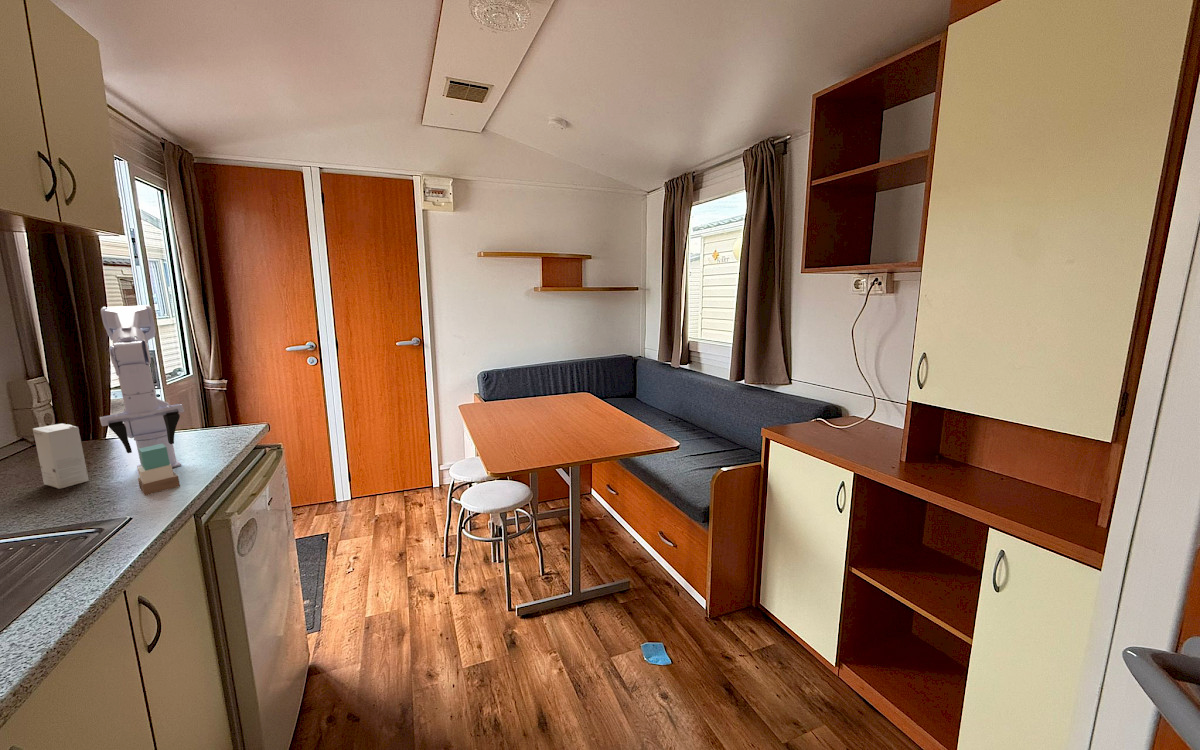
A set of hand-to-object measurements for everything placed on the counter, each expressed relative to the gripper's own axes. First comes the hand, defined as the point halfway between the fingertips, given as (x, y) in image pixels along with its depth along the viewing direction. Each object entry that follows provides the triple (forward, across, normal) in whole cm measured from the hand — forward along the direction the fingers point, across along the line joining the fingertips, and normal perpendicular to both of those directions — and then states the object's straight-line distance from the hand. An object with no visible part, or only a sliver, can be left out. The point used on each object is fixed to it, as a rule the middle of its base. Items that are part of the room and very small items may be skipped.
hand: (150, 447), depth 119 cm
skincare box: (+10, -14, +25) cm, 31 cm away
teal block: (+5, 0, 0) cm, 5 cm away
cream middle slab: (+8, 0, 0) cm, 8 cm away
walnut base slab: (+11, 0, 0) cm, 11 cm away
